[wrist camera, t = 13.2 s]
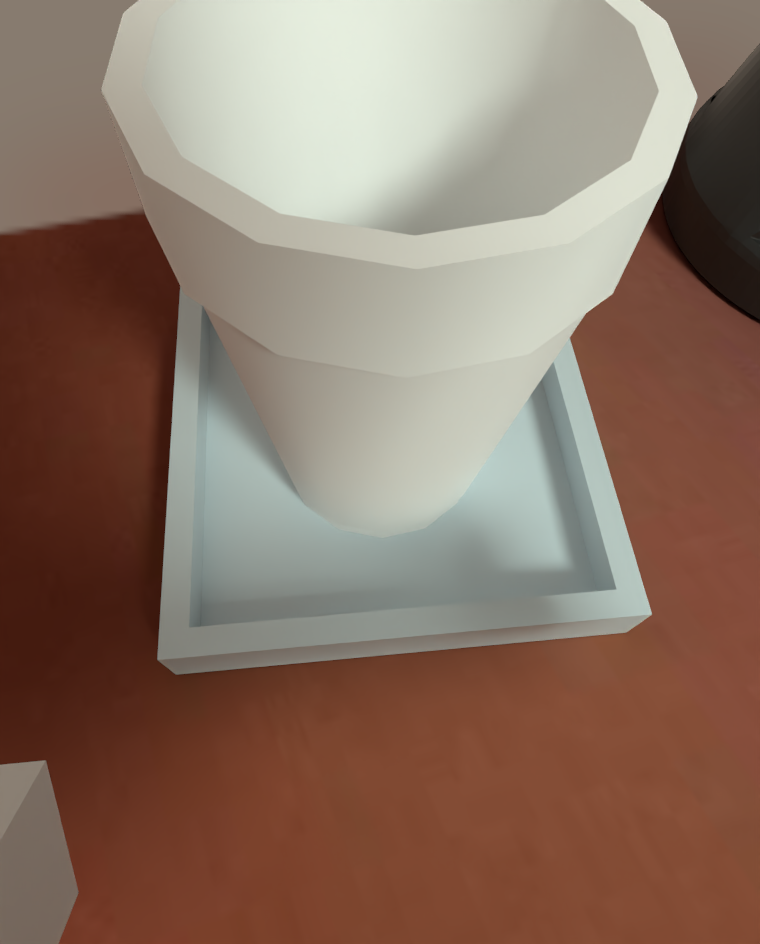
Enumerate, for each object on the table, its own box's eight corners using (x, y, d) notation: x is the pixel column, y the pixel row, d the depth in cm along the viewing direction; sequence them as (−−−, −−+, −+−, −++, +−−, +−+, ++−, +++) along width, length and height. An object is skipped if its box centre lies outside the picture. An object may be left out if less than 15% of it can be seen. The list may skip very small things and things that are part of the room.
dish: (534, 298, 26) (546, 260, 24) (626, 632, 20) (651, 614, 18) (192, 317, 25) (180, 280, 24) (176, 674, 19) (157, 660, 17)
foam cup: (251, 340, 24) (153, -92, 13) (499, 340, 24) (623, -83, 13) (230, 588, 20) (50, 268, 8) (533, 583, 20) (769, 269, 8)
